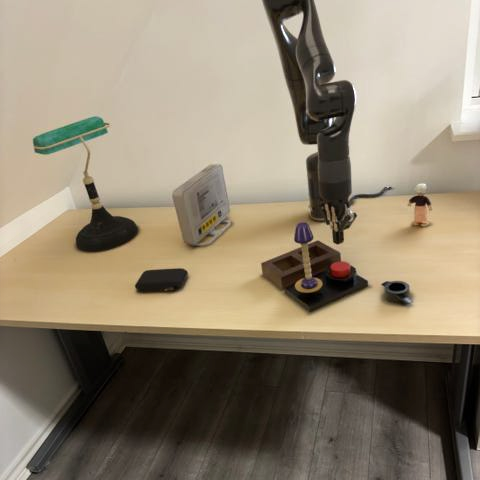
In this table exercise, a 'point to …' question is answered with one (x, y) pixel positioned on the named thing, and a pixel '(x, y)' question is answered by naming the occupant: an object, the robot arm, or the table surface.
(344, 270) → the switch button
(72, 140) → the banker's lamp
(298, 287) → the brass plate
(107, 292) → the table surface
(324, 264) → the rack
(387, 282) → the black winged round part
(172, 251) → the table surface
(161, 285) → the carrying case
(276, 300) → the table surface
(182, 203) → the network device
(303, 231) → the toy lamp
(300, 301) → the switch base
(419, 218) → the grandmother figurine
